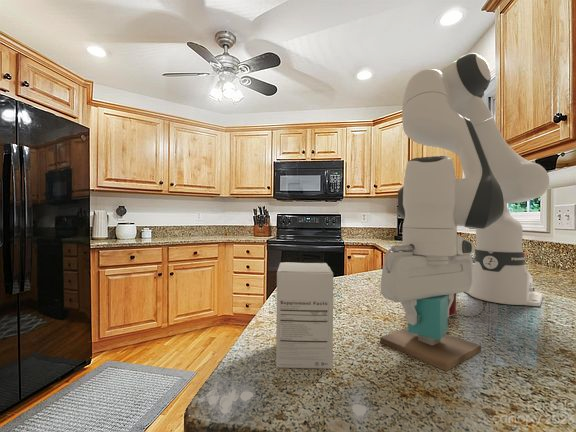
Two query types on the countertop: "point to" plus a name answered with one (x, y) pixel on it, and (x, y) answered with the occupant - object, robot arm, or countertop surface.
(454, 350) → the wooden base board
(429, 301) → the teal upright block
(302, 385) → the countertop surface
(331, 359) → the supplement box
